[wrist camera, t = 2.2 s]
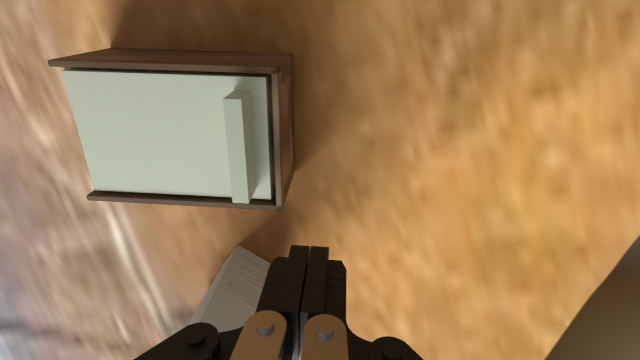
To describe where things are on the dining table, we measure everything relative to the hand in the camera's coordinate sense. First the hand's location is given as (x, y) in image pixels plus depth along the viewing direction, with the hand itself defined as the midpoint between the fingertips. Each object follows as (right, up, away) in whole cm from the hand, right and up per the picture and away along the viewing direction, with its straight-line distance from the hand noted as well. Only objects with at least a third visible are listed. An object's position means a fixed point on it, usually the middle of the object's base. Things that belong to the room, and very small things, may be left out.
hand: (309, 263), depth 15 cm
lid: (-11, +7, +14) cm, 19 cm away
